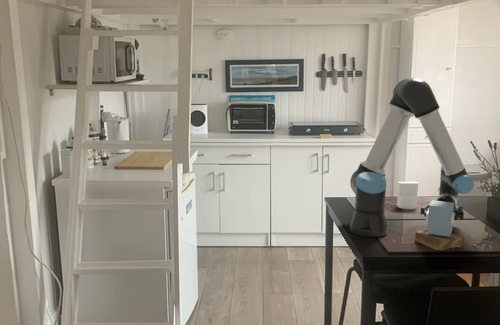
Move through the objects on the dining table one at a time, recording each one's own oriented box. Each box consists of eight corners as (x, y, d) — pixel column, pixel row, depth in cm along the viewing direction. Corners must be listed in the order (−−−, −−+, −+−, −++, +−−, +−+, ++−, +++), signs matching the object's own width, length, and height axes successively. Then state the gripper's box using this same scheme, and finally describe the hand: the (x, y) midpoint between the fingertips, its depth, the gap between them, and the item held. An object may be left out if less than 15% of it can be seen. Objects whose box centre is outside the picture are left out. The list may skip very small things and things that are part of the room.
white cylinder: (412, 204, 241) (414, 180, 239) (419, 209, 233) (421, 184, 230) (394, 204, 241) (395, 180, 239) (400, 209, 232) (402, 184, 230)
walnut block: (437, 251, 178) (438, 241, 178) (414, 241, 189) (415, 231, 188) (462, 247, 183) (463, 237, 182) (438, 237, 194) (439, 228, 193)
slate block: (449, 236, 180) (452, 207, 178) (427, 233, 183) (429, 205, 181) (451, 230, 187) (454, 202, 185) (429, 227, 190) (431, 200, 188)
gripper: (473, 216, 196) (469, 232, 176) (418, 209, 205) (409, 224, 185) (474, 198, 194) (471, 212, 174) (419, 192, 204) (410, 205, 184)
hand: (439, 218), depth 180 cm, fingers closed on slate block, 8 cm apart
